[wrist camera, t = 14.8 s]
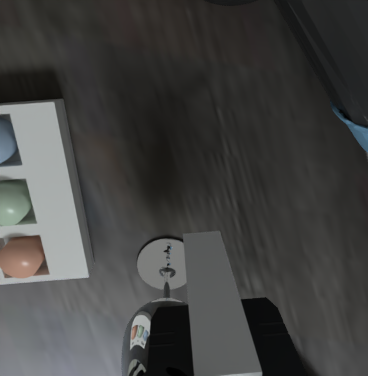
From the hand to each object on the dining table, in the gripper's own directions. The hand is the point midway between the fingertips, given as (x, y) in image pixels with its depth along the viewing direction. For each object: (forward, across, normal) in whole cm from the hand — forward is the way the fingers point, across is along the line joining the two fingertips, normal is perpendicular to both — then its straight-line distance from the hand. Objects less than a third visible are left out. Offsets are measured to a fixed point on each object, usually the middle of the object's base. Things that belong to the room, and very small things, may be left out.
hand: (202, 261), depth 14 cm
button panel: (+24, -19, -5) cm, 31 cm away
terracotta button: (+23, -19, -12) cm, 32 cm away
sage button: (+23, -19, -5) cm, 30 cm away
